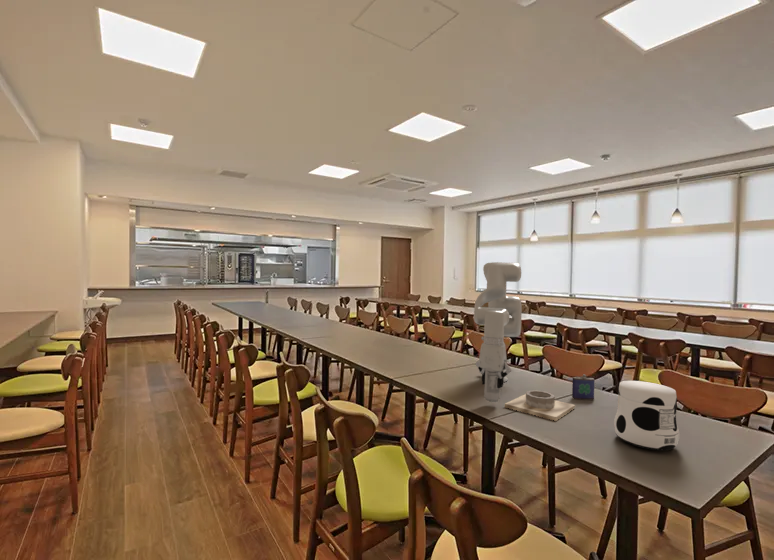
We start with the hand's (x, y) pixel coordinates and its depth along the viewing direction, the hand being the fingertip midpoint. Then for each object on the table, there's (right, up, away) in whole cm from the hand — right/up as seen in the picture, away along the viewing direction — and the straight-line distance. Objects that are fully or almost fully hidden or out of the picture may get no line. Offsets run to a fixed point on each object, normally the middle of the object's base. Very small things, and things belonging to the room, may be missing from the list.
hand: (492, 385), depth 157 cm
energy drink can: (0, -6, 0) cm, 6 cm away
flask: (+43, -10, +13) cm, 46 cm away
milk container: (+40, -10, -32) cm, 52 cm away
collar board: (+19, -9, -1) cm, 21 cm away
